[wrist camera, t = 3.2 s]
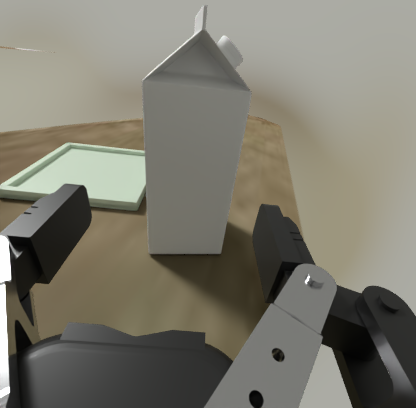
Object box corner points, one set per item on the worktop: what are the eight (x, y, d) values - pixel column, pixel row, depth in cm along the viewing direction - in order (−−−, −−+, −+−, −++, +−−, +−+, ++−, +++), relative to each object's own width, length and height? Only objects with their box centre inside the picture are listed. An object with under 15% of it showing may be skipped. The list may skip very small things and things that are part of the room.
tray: (-2, 197, 27) (-6, 188, 27) (68, 149, 41) (67, 142, 40) (136, 211, 28) (136, 202, 27) (161, 159, 42) (161, 152, 41)
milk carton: (148, 256, 22) (137, -7, 12) (154, 212, 28) (150, 10, 18) (221, 255, 24) (268, 14, 13) (212, 213, 29) (240, 24, 19)
